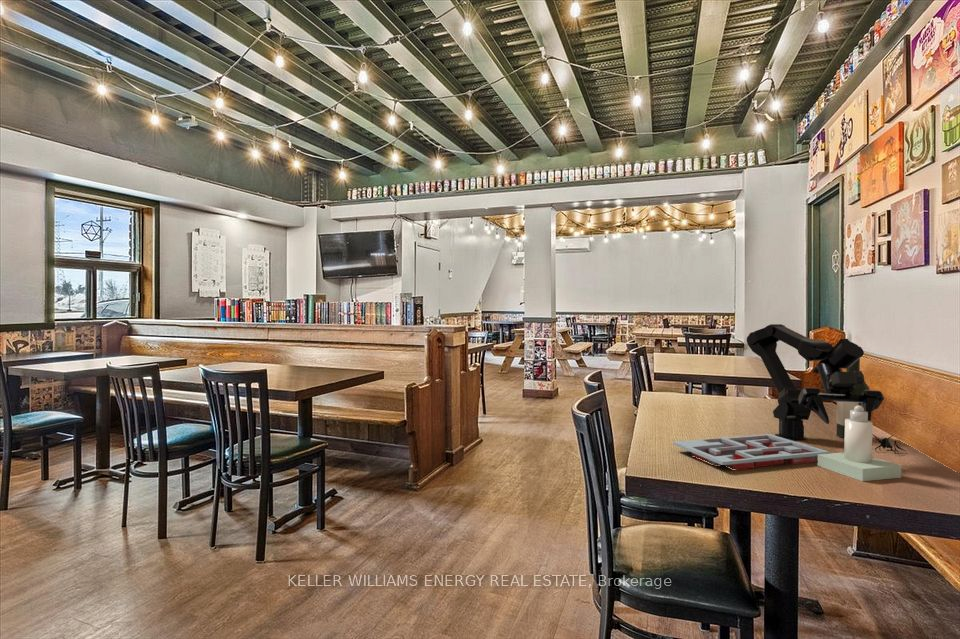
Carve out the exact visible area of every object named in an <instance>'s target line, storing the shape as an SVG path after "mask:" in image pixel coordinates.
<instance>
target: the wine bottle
mask: <svg viewBox="0 0 960 639" xmlns="http://www.w3.org/2000/svg"><path fill="white" fill-rule="evenodd" d="M860 360H861V358H860V359H859V360H857V361H856V362H855V363H854V364H853V365H852V366H851V367H849V368H847V369H846V372H854V371H861V370H860V369H861V367H860V365H861V364H860V362H861V361H860ZM853 387H854V390H853V392H852V391H851V392H850V393H851V395H861V393H862V392H863V390H870V387H869V385H868V384H867V383H866V382H865V380H864V382H863V383H861V384H857V385H854V386H853ZM857 405H859V404H858V403H854V402H836V437H838V436H839V437H838V438H840V439H844V438H845V419H848V418H850V410H854V407H855V406H857Z"/></svg>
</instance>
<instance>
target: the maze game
mask: <svg viewBox="0 0 960 639" xmlns="http://www.w3.org/2000/svg"><path fill="white" fill-rule="evenodd" d="M672 445H673V446H675V447H678V448H679V449H680V448H681V449H683V450H685V451H688V452H690V453H691V457H692V456H695V457H697V458H700V459H702V460H705V461H707V462H709V463H711V464H713V465H725V466H727V467H730V468H732V469H743V470H746V469H745V468H753V469H755V467H754V466H758V467H764V466H763V465H767V466H774V465H773V464H776V465H782V464H784V463H786V464H787V463H788V464H790V465H797V464H799V465H800V464H808V463H807V462H809V463H816V462H815V461H818V454H830V451H828V450H825V449H822V448H819V447H815V446H811V445H809V444H805V443H802V442H798V441H796V440H788V439H785V438H782V437H778V436H775V434H772V433H765V434H763V433H761V434H750V435H739V436H727V437H716V438H715V437H714V438H713V437H712V438H702V439H691V440H679V441H672ZM784 465H785V464H784ZM725 466H724V467H725Z"/></svg>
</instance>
